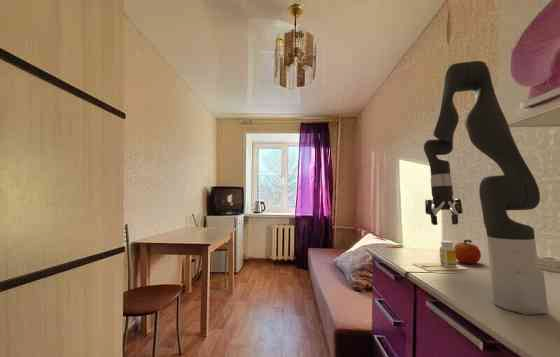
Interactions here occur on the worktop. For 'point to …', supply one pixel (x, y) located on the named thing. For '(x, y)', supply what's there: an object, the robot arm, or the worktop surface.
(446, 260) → the supplement bottle
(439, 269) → the paper
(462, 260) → the fruit
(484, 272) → the worktop surface
